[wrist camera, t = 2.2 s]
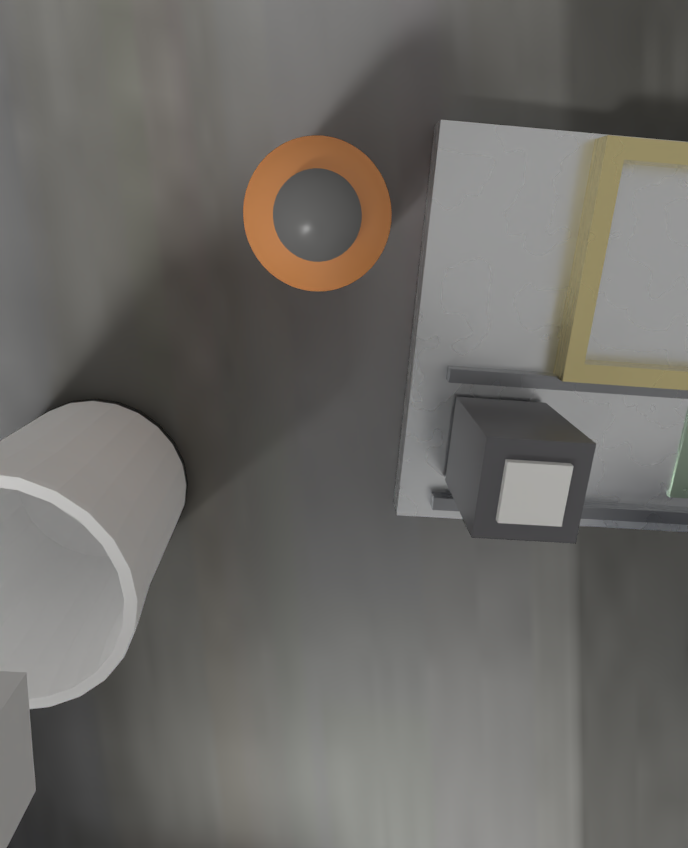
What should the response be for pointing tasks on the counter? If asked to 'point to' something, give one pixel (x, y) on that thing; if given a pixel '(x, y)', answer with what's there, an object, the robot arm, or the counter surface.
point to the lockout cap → (317, 213)
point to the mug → (81, 541)
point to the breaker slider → (518, 470)
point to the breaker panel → (555, 309)
